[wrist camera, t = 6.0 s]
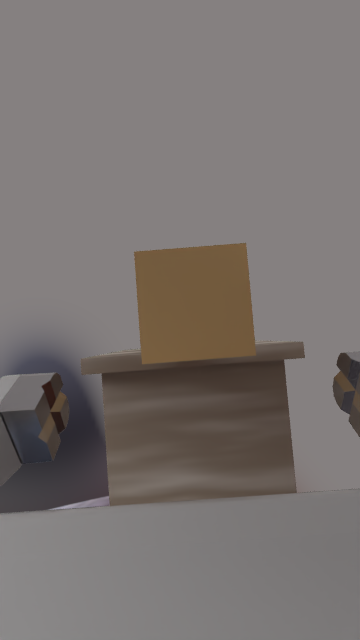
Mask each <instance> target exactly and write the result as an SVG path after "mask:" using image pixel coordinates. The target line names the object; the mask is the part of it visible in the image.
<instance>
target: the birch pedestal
mask: <svg viewBox="0 0 360 640" xmlns="http://www.w3.org/2000/svg"><path fill="white" fill-rule="evenodd" d="M255 348H256V356H243V357H230V358H217V359H204V360H191V361H178V362H165V363H152V364H142V357H141V349H131V350H123V351H118V352H113V353H108V354H103V355H98V356H93V357H88V358H83V359H81V372H82V375H86V374H100V373H102V387H103V403H104V419H105V436H106V450H107V451H106V452H107V467H108V483H109V500H110V506H115V505H130V504H144V503H159V502H173V501H187V500H202V499H216V498H230V497H245V496H259V495H274V494H288V493H297V492H296V482H295V472H294V461H293V450H292V440H291V429H290V418H289V408H288V397H287V386H286V376H285V365H284V359H296V358H305V355H304V345H303V342H289V341H255Z"/></svg>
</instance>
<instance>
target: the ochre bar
mask: <svg viewBox="0 0 360 640" xmlns="http://www.w3.org/2000/svg"><path fill="white" fill-rule="evenodd" d="M134 256H135V270H136V284H137V300H138V313H139V328H140V343H141V357H142V364H152V363H165V362H178V361H191V360H204V359H217V358H230V357H243V356H256V348H255V337H254V326H253V315H252V304H251V293H250V281H249V270H248V261H247V260H248V259H247V249H246V243H240V244H227V245H214V246H201V247H189V248H176V249H163V250H152V251H137V252H134Z"/></svg>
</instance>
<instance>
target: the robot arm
mask: <svg viewBox="0 0 360 640" xmlns="http://www.w3.org/2000/svg"><path fill="white" fill-rule="evenodd" d="M337 366H338V368H339V369H340V372H339V373H338V374H337V375H336V376H335V377H334V382H333V392H334V397H335V400H336V402H337V404H338V406H339V407H340V409H341V410H343V411H344V412H346V413H348V414H350V417H349V422H350V424H351V425H352V427H353V428H354V430H355V431H356V433H357V434H358V436H359V437H360V351H358V352H346V353H340V355H339V357H338V360H337ZM62 386H63V383H62V380H61V377H60V375H59V374H58V373H42V374H23V375H8V376H4V377H2V378H1V379H0V486H2V485H3V483H5V482H6V481H7V480H8V479H9V478H10V477H11V476H12V475H13V474H14V473H15V472H16V471H17V470H18V469H19V468H20V467H21V464H26V463H36V462H46V461H53V459H54V457H55V454H56V452H57V449H58V447H59V444H60V438H59V434H60V433H61V432H62V431H63V430H64V429H65V428H66V425H67V423H68V417H69V404H68V400H67V397H66V396H65V395H64V394H63V393H62V392H60V390H61V388H62ZM0 640H360V489H348V490H334V491H333V490H332V491H319V492H304V493H288V494H274V495H259V496H245V497H230V498H216V499H202V500H187V501H173V502H159V503H144V504H130V505H115V506H101V507H87V508H72V509H58V510H43V511H29V512H16V513H15V512H14V513H1V514H0Z"/></svg>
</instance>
